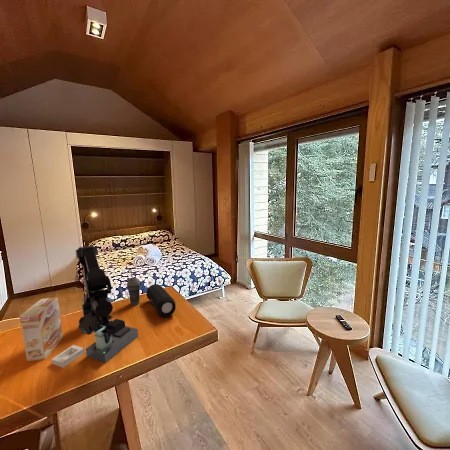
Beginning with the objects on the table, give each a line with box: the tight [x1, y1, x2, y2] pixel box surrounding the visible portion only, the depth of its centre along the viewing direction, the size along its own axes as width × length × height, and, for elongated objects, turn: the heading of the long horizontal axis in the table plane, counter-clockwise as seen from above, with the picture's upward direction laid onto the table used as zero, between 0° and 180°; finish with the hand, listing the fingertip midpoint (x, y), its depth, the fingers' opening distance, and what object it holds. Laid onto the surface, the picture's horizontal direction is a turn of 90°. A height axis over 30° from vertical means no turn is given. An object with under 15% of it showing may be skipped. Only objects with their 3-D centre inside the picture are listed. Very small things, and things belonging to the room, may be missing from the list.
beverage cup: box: [126, 270, 141, 306], centre depth 142 cm, size 7×7×20 cm
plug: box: [94, 327, 112, 351], centre depth 100 cm, size 3×5×8 cm
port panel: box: [85, 325, 139, 364], centre depth 105 cm, size 10×18×5 cm, turn 158°
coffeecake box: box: [19, 297, 64, 362], centre depth 103 cm, size 15×7×20 cm, turn 9°
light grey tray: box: [51, 344, 86, 369], centre depth 98 cm, size 6×9×2 cm, turn 158°
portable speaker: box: [146, 283, 176, 317], centre depth 137 cm, size 26×10×10 cm, turn 31°
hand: (104, 342), depth 100 cm, fingers closed on plug, 3 cm apart
